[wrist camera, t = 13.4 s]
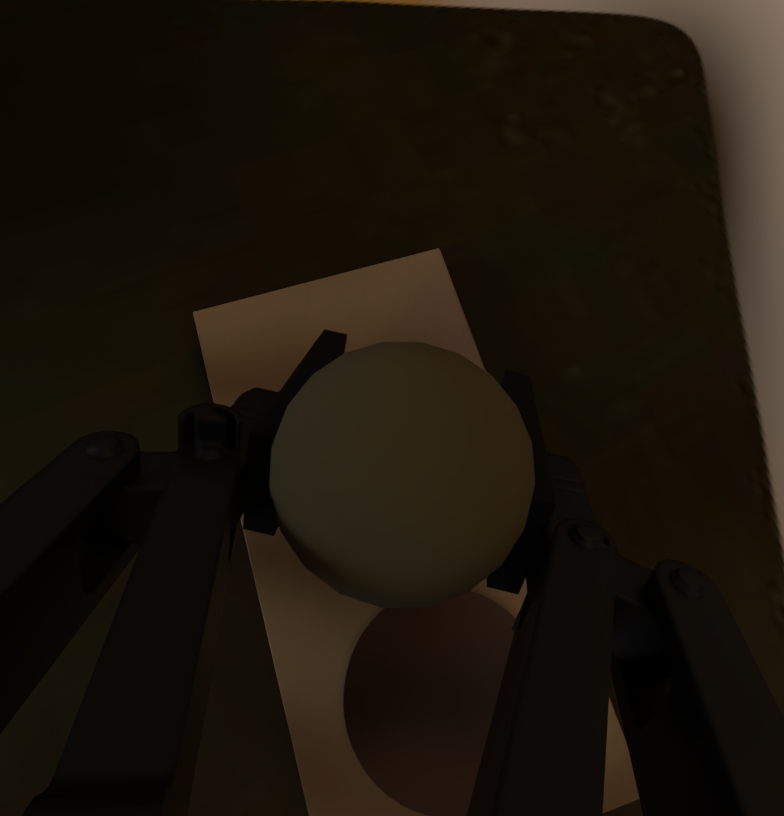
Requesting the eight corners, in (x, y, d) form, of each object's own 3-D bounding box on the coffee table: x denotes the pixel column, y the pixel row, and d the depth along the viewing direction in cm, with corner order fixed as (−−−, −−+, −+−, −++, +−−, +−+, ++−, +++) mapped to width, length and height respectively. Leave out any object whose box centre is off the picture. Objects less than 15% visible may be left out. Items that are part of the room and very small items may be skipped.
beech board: (203, 326, 24) (190, 309, 22) (435, 265, 25) (439, 244, 24) (336, 893, 18) (332, 925, 17) (628, 780, 20) (650, 799, 18)
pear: (479, 444, 21) (591, 319, 10) (461, 612, 19) (574, 675, 8) (322, 420, 21) (268, 270, 10) (291, 585, 19) (186, 613, 8)
